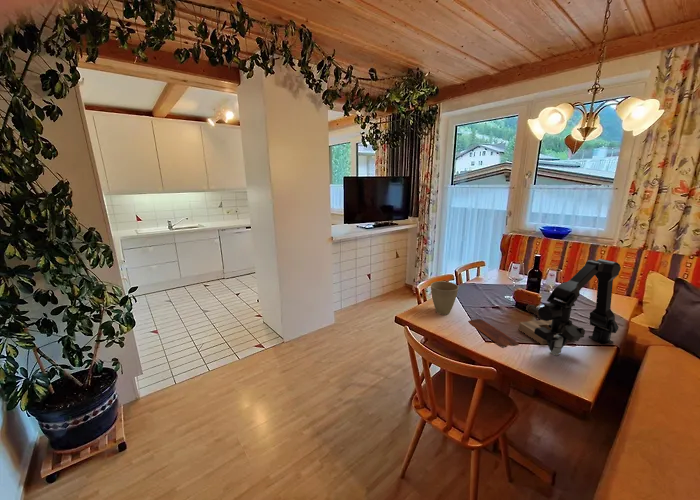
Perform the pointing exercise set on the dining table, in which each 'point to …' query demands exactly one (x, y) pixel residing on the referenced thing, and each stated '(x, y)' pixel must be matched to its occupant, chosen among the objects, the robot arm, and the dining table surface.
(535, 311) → the bolt
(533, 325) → the board
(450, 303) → the plant pot
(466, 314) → the dining table surface
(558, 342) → the peg
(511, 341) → the wooden tablet
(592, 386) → the dining table surface
